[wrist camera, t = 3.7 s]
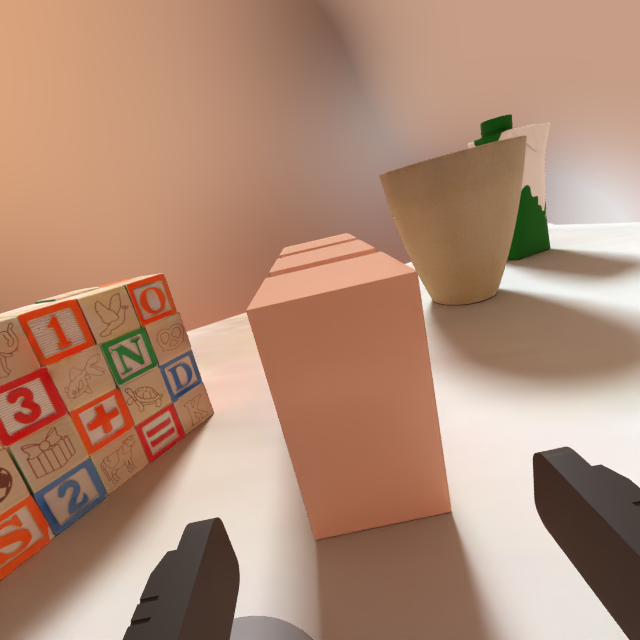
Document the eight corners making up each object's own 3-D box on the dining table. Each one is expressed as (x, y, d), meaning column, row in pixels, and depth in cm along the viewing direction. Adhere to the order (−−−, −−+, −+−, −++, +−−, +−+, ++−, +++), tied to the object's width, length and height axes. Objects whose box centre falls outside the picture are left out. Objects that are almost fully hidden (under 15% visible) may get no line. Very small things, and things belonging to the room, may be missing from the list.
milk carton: (472, 259, 59) (460, 130, 54) (512, 246, 62) (504, 122, 56) (517, 262, 51) (509, 111, 46) (561, 247, 54) (558, 102, 48)
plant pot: (432, 279, 53) (417, 167, 48) (547, 276, 43) (543, 133, 38) (377, 314, 43) (352, 179, 39) (509, 321, 33) (497, 137, 28)
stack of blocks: (-223, 763, 12) (-560, 489, 9) (-224, 672, 16) (-468, 446, 12) (216, 413, 29) (164, 269, 26) (170, 405, 33) (118, 277, 29)
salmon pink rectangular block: (315, 539, 16) (246, 310, 13) (313, 450, 22) (265, 278, 18) (451, 511, 16) (417, 271, 12) (411, 429, 22) (381, 251, 18)
